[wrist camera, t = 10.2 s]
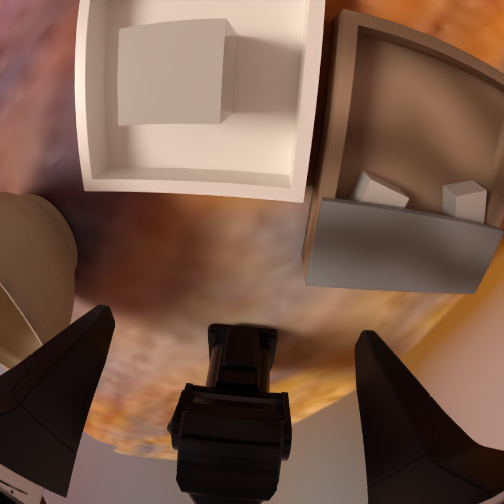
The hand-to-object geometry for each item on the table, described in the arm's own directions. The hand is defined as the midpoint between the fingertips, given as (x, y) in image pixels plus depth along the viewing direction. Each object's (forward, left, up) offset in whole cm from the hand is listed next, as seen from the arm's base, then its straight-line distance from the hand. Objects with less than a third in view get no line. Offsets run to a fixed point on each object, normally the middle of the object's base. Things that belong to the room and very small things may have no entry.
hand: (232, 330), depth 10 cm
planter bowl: (-5, +20, -12) cm, 24 cm away
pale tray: (+8, +4, -12) cm, 15 cm away
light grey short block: (+1, -8, -11) cm, 14 cm away
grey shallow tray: (+4, -12, -12) cm, 17 cm away
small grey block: (+2, -16, -11) cm, 19 cm away
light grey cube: (+8, +4, -11) cm, 14 cm away
